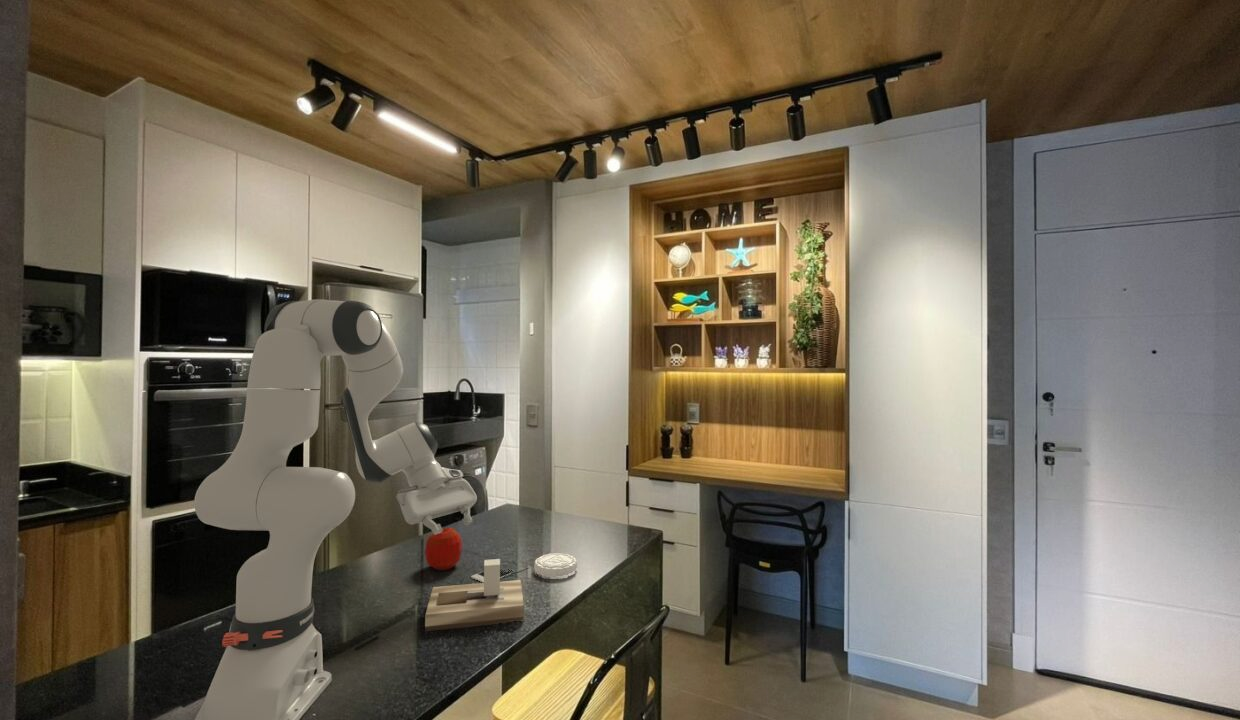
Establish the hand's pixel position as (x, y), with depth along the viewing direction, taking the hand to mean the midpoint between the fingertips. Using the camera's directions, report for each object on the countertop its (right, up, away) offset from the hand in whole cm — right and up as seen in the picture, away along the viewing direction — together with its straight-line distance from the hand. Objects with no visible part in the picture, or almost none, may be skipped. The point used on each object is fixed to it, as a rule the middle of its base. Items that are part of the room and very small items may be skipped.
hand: (454, 527), depth 126 cm
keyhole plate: (+8, -17, -7) cm, 20 cm away
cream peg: (+11, -16, -6) cm, 21 cm away
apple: (-9, -18, +18) cm, 27 cm away
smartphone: (+8, -18, +16) cm, 25 cm away
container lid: (+23, -18, +17) cm, 34 cm away
